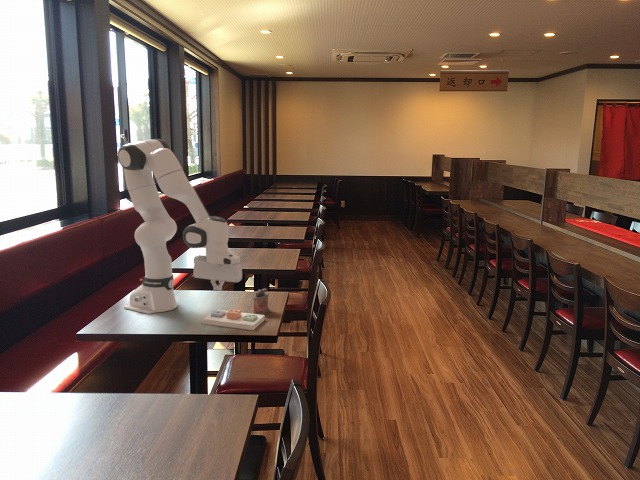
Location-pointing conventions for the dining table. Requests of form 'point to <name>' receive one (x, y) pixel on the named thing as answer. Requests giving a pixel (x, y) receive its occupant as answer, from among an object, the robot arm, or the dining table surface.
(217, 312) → the button slate
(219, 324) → the panel
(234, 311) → the button terracotta
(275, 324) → the dining table surface
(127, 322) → the dining table surface
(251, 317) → the button sage
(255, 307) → the lighter
